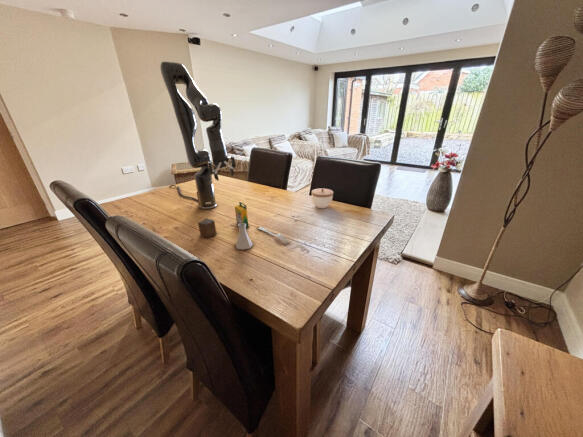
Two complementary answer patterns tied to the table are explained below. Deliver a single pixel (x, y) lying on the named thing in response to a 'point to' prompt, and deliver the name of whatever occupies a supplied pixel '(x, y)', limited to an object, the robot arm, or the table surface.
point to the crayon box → (241, 214)
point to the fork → (274, 234)
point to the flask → (243, 238)
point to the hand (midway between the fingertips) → (224, 177)
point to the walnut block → (207, 228)
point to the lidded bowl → (322, 197)
